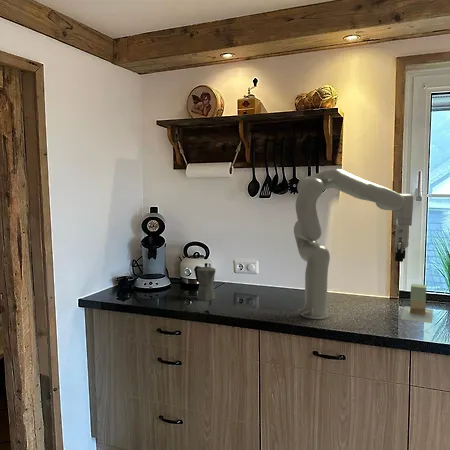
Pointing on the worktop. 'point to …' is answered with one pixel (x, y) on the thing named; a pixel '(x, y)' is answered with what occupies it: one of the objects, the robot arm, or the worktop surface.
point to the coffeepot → (205, 282)
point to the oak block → (417, 307)
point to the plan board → (417, 315)
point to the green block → (418, 292)
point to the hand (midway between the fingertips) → (400, 259)
